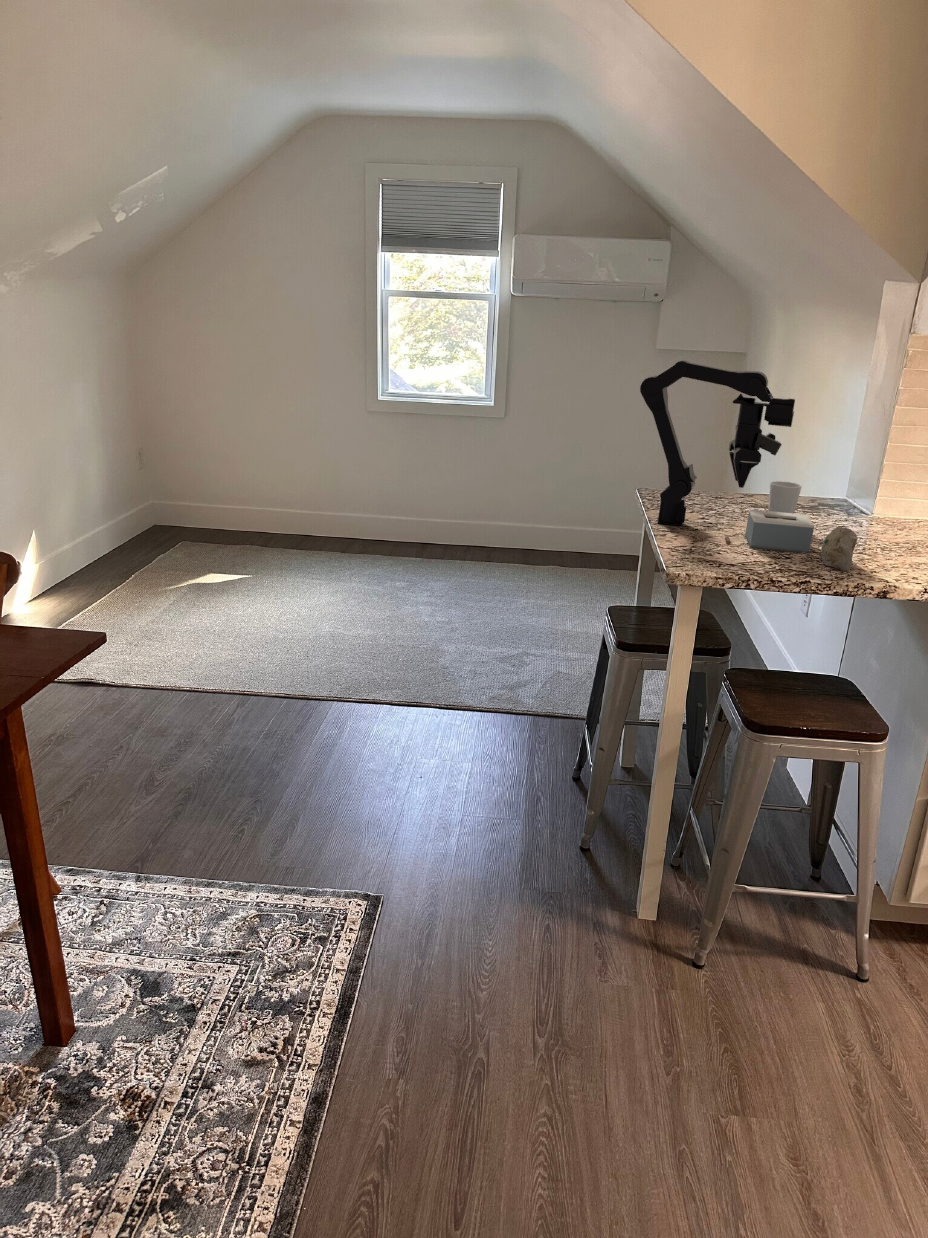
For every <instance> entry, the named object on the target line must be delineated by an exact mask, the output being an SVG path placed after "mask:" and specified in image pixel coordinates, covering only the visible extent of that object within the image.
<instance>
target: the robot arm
mask: <svg viewBox="0 0 928 1238" xmlns="http://www.w3.org/2000/svg"><path fill="white" fill-rule="evenodd" d="M682 378H687V379H692V380H695V381H696V380H697V381H702V382H705V383H711V384H715V385H720V386H725V387H728V388H730V389H733V390H734V391H737V392H739V395H738V396H737V397H736V398H734V399H733V400H732V404H735V405H739V410H738V416H737V423H736V424H735V436H734V439H733V440H731V441H730V442H729V443H728V444H729V445H728V451H729V452H728V454H729V459H730V463H731V467H732V472H733V475H734V480H735V482H737V485H738V487H739V488H741V489H742V488H744V487H745V484H746V482H747V480H748V477H749V476H750V475H749V474H750V473H751V470H752V469H753V468H754V467H756V466H758V465H759V464H760V463H761V461H762V454H761V452H760V449H762V450H764V451H766V452H768V453H770V455H773V456H776V455H777V454H778V452H779V450H780V449H781V447H782V443H781V442H780V441H778V440H776V435H775V434H774V433H771V432H768V434H766V435H765V434H763V430H762V428H761V425H762V418H764V419H763V420H764V421H766V422H767V425H768V426H775V427H776V426H777V427H786V428H792V426H793V425H792V424H793V419H794V416H795V415H794V414H795V411H794V409H795V402H796V399H795V398H778V397H774V396H773V393H772V392H771V391H770V389H769V388H768V387H769V386H768V384H769V380H768V377H767V376H766V374H765V373H764V372H762V371H759V370H757V371H755V370H730V369H729V370H728V369H723V368H719V367H713V366H709V365H705V364H704V365H703V364H699V363H695V362H690V361H688V360H684V359H683V360H680V361H677V362H676V363H675V364H674V365H672V366H671V367H670V368H667V369H666V370H664V371H662V372H661V373H660V374H658V375H652V376H649V377H646V378H645V379H644V380H643V381H642V383H641V385H640V387H639V390H640V391H639V392H640V394H641V396H642V398H643V400H644V402H645V405H646V406H647V408H648V409H649V410H650V412H651V413H652V417H653V419H654V422H655V426H656V429H657V432H658V436H659V439H660V442H661V446H662V449H663V452H664V455H665V459H666V462H667V468H668V469H667V470H668V474H667V475H668V486H667V487H666V488H664V489H663V491H661V493H660V494H659V497H660V501H659V508H658V516H657V517H656V519H657V524H660V525H669V526H680V527H681V526H683V525H684V523H685V520H686V514H687V506H686V505H685V503H686V502H685V500H686V499H684V498H686V497H687V496H688V495H689V494H690V493H691V492H692V491H693V490H694V489H695V486H696V480H697V478H698V477H697V475H696V474H695V472H694V465H693V463H690V464H687V462H685V459H684V457H683V454H682V451H681V448H680V447H681V446H680V445H679V440H678V437H677V434H676V430H675V427H674V423H673V419H672V417H671V413H670V410H669V395H668V388H669V387H670V386H671V385H673V384H675V383H676V382H678V381H680V379H682ZM743 394H745V395H747V396H749V397H745V396H744V395H743ZM755 397H756V398H757V399H759V400H760V401H761V402H759V401H756V398H755ZM764 407H765V410H764ZM763 412H764V414H763ZM763 415H764V417H763Z"/></svg>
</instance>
